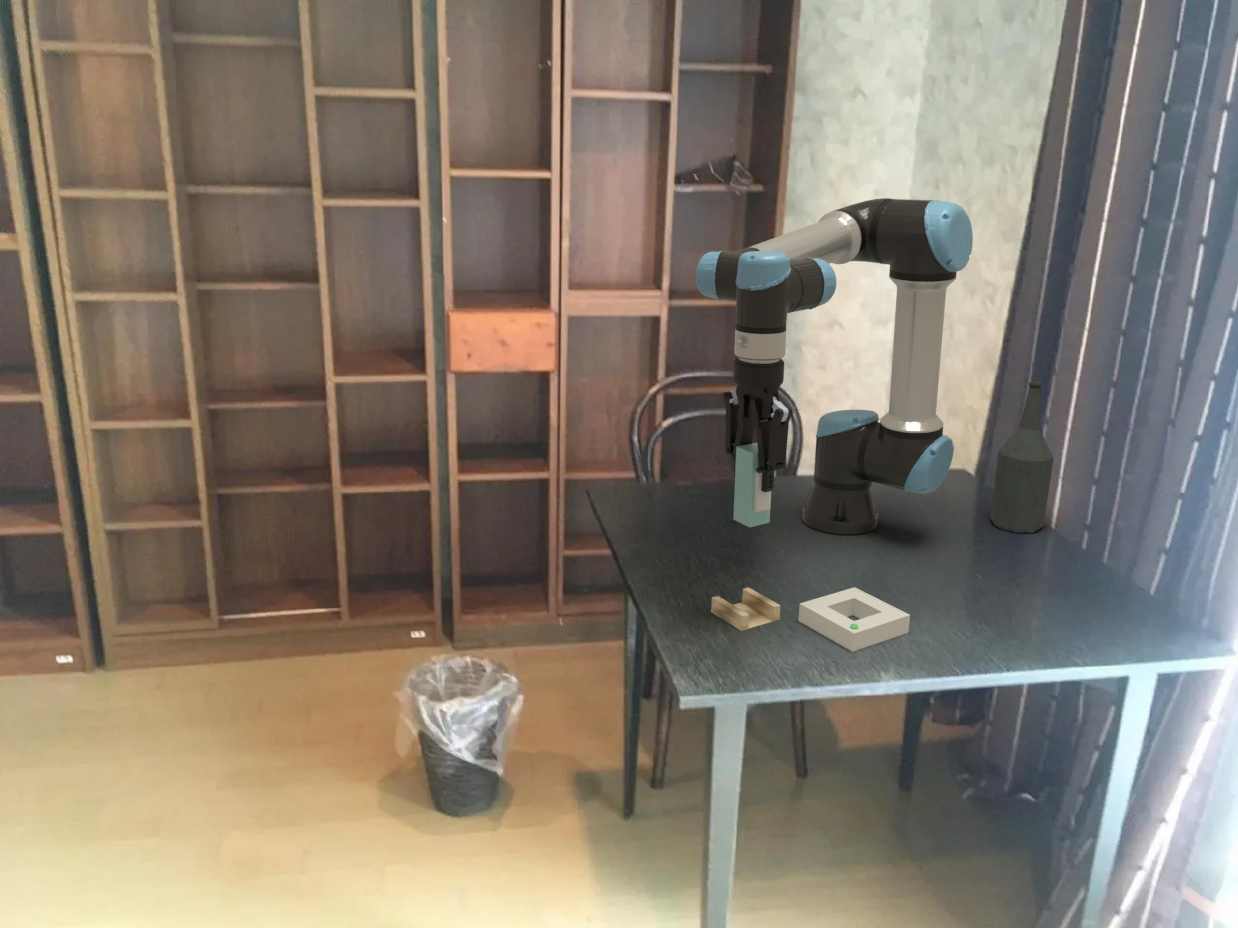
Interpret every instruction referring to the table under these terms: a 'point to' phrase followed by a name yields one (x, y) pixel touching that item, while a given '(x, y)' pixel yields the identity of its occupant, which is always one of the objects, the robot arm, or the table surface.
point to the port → (834, 623)
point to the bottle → (1023, 472)
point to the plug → (747, 487)
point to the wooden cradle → (746, 610)
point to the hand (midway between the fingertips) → (752, 504)
